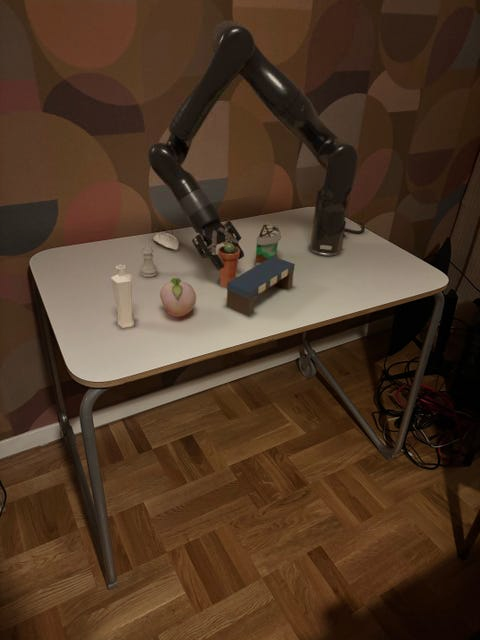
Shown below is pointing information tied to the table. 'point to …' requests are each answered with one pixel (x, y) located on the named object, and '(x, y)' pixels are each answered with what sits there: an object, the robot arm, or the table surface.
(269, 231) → the wedge shaped tart
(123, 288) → the perfume bottle
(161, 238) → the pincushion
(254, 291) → the dark blue bench
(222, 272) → the pot
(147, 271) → the rook chess piece
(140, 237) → the table surface
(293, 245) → the table surface
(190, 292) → the decorative fruit
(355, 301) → the table surface
